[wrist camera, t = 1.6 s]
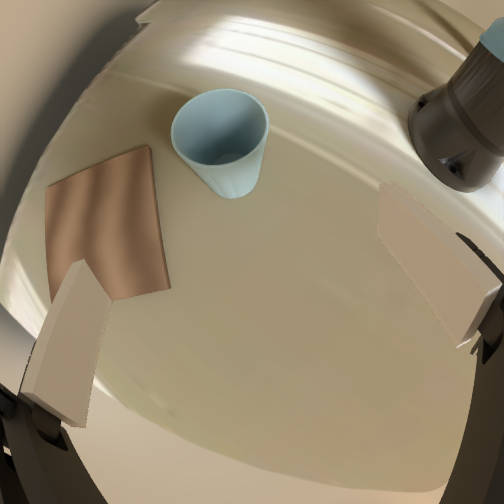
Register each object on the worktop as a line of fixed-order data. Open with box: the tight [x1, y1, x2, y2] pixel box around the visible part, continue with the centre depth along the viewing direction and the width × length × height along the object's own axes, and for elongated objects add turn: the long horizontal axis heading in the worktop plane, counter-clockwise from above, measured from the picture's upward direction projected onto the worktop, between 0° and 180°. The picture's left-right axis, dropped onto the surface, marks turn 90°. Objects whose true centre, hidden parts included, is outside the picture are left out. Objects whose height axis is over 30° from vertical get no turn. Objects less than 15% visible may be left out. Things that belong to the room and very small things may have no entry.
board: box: [45, 146, 171, 304], centre depth 29 cm, size 17×17×1 cm
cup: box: [171, 88, 269, 199], centre depth 25 cm, size 8×8×10 cm
